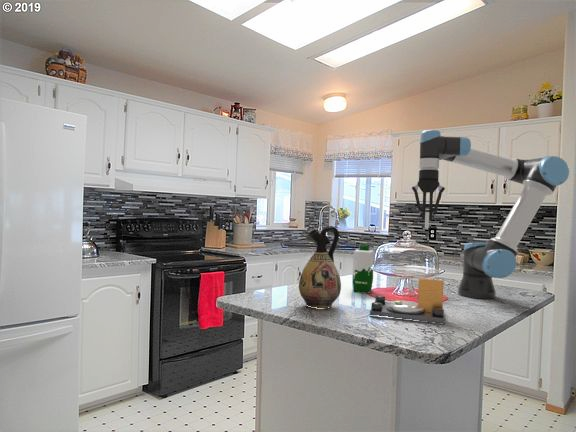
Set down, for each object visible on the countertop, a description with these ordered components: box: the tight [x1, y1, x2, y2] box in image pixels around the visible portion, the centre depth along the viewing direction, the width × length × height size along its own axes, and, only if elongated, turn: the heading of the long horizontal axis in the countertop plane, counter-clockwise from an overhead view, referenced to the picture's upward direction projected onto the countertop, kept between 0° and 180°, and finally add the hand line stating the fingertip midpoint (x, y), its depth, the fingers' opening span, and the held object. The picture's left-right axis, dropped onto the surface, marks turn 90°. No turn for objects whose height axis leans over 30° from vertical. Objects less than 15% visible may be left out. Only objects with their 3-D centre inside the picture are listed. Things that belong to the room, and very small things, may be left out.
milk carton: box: [352, 244, 375, 293], centre depth 193 cm, size 9×9×20 cm
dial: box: [386, 278, 445, 314], centre depth 151 cm, size 18×13×11 cm
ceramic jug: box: [298, 225, 342, 309], centre depth 161 cm, size 17×15×30 cm
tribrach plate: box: [369, 294, 446, 324], centre depth 154 cm, size 24×17×4 cm
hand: (426, 228), depth 177 cm, fingers closed
